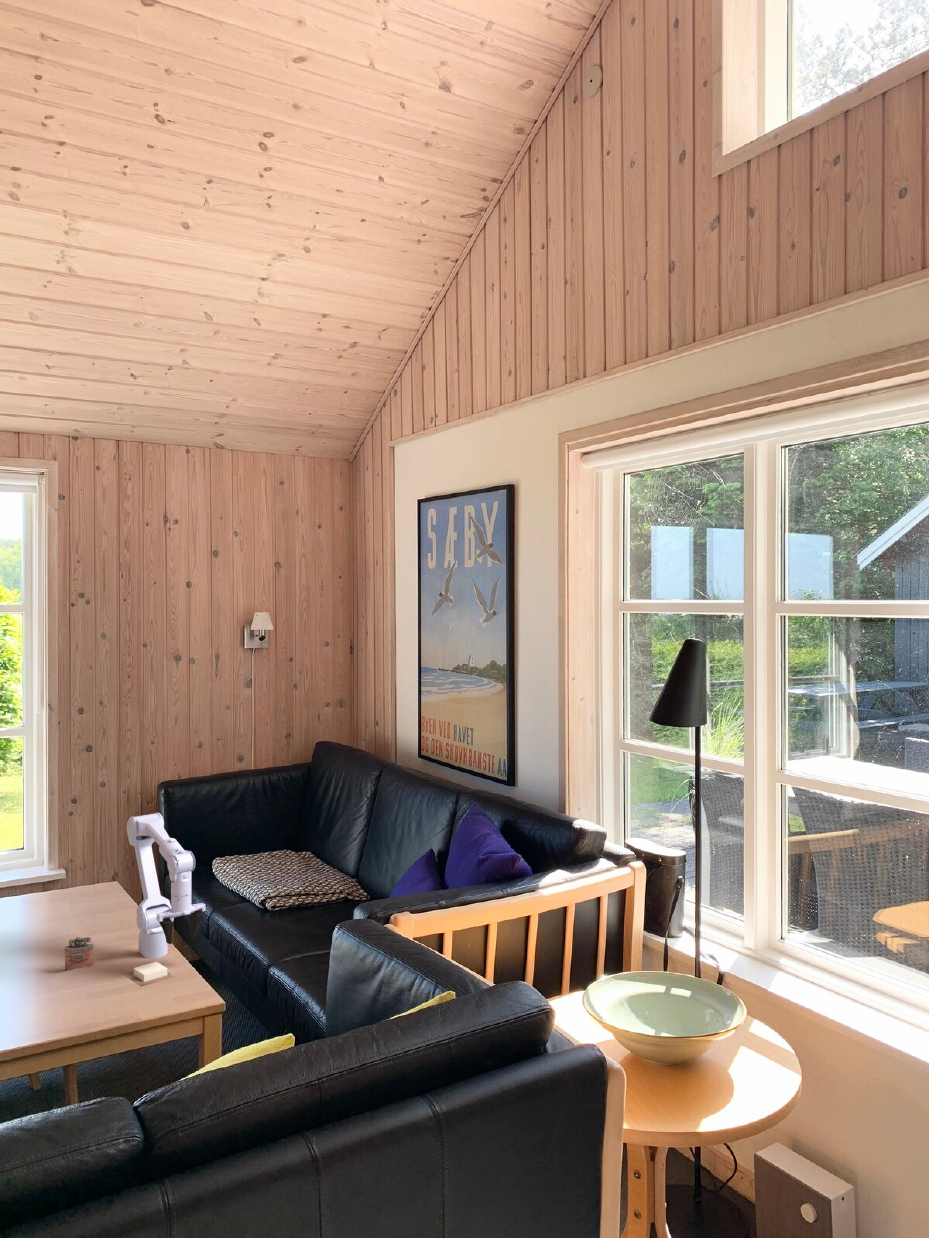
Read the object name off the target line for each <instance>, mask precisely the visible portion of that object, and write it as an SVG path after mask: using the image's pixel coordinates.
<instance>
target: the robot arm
mask: <svg viewBox="0 0 929 1238" xmlns="http://www.w3.org/2000/svg"><path fill="white" fill-rule="evenodd" d="M164 827H165V821H164V817H163V816H162V814H161V813H160V812H155V813H149V814H142V815H136V816H130V817H129V818H128V820H127V824H126V834H127V837H128V843H129V845H130V846H131V847H132V846H133V847H134V850H135V858H136V862H137V869H138V873H139V879H140V885H141V889H142V890H141V891H142V895H143V896H142V897H143V900H141V902H140V904H139V905H138V906H137V907H136V925H137V928H138V929H139V934H138V953H140V954H141V955H142V957H144V958H146V959H156V958H157V959H159V958H162V957H164V956H166V955H168V951H169V947H168V945H171V944H173V930H174V929H173V927H174V924H175V923H174V919H175V918H178V917H182V916H187V915H188V917H189V925H190V926H189V927H190V928H189V933H190V937H192V938H197V934H198V930H199V926H200V924H201V922H202V921H203V918H204V917H205V913H204V912H206V904H205V903H203V902H200V903H193V904H192V872H194V870H195V868H196V858H195V855H194V854H193V852H192V851H191V850H185V849H184V848H183V847H182V845H181V844H180V843H179V842H178V841H177V839H176V838H173V837H170V835H169V834H168V832H167V831H166V829H165V828H164ZM153 843H156V844H157V845H158V846H159V847H158V851H159V853H160V854H161V855H162V857H163V858H164V860H165V862H166V865H167V870H168V873H169V880H170V881H171V883H170V884H171V885H170V887H171V888H170V892H171V893H170V895H171V896H170V899H168V898H166V897H164V896H162V895H161V890H160V886H159V884H160V883H159V880H158V874H157V870H156V869H157V868H156V863H155V859H154V854H153V853H154V852H153V847H152V845H153Z"/></svg>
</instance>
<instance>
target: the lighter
mask: <svg viewBox="0 0 929 1238" xmlns="http://www.w3.org/2000/svg"><path fill="white" fill-rule="evenodd" d="M91 942H92V938H91V937H90V936H86V937H85V936H84V937H80V936H77V937H75V938H72V939H71V938H69V939H68V945H66V946H64V948H63V950H64V972H68V971H72V970H75V969H83V968H90V967H92V966H94V944H93V943H91Z"/></svg>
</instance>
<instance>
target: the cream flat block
mask: <svg viewBox="0 0 929 1238" xmlns="http://www.w3.org/2000/svg"><path fill="white" fill-rule="evenodd" d="M133 971H134V975H135V976H136V977H138V978H139V979H141V980H142V981H144V982H145V981H149V980H152V979H156V978H159V977H163V976H166V975H167V972H168V967H166V966H164V965H163V964H161V963H160V962H158V961H155V962H151V963H147V964H143V965H139V966H136V967H134V968H133Z"/></svg>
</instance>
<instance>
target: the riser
mask: <svg viewBox="0 0 929 1238" xmlns="http://www.w3.org/2000/svg"><path fill="white" fill-rule="evenodd" d="M123 976H125V977H126V978H128V979H129V980H131V981H132V982H134V983H135V984H137V985H138V986H140V987H145V986H149V985H151V984H154V983H159V982H162V981H165V980H169V979H171V978H172V979H173V978H175V976H174V975H173V974H171V973H169V972H168V971H167V975H166V976H163V977H159V978H156V979H152V980H149V981H145V982H144V981H142V980H141V979H139V978H138V977H136V976H135V975H134V970H133V971H131V972H127V973H123Z"/></svg>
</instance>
